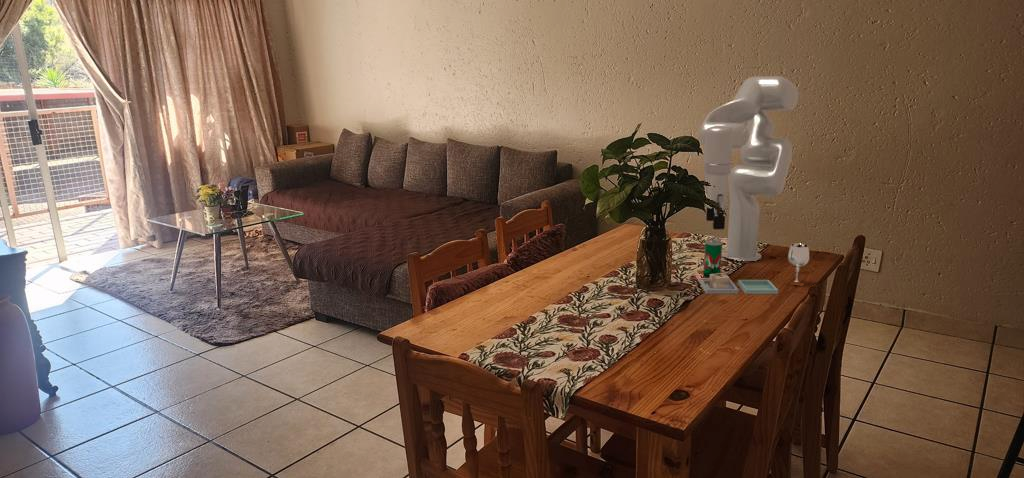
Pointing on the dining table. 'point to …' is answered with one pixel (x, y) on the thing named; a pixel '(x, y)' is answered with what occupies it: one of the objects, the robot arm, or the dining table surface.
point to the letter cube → (719, 281)
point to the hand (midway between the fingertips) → (715, 224)
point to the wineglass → (798, 256)
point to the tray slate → (708, 290)
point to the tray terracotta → (697, 272)
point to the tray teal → (757, 287)
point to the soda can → (712, 257)
